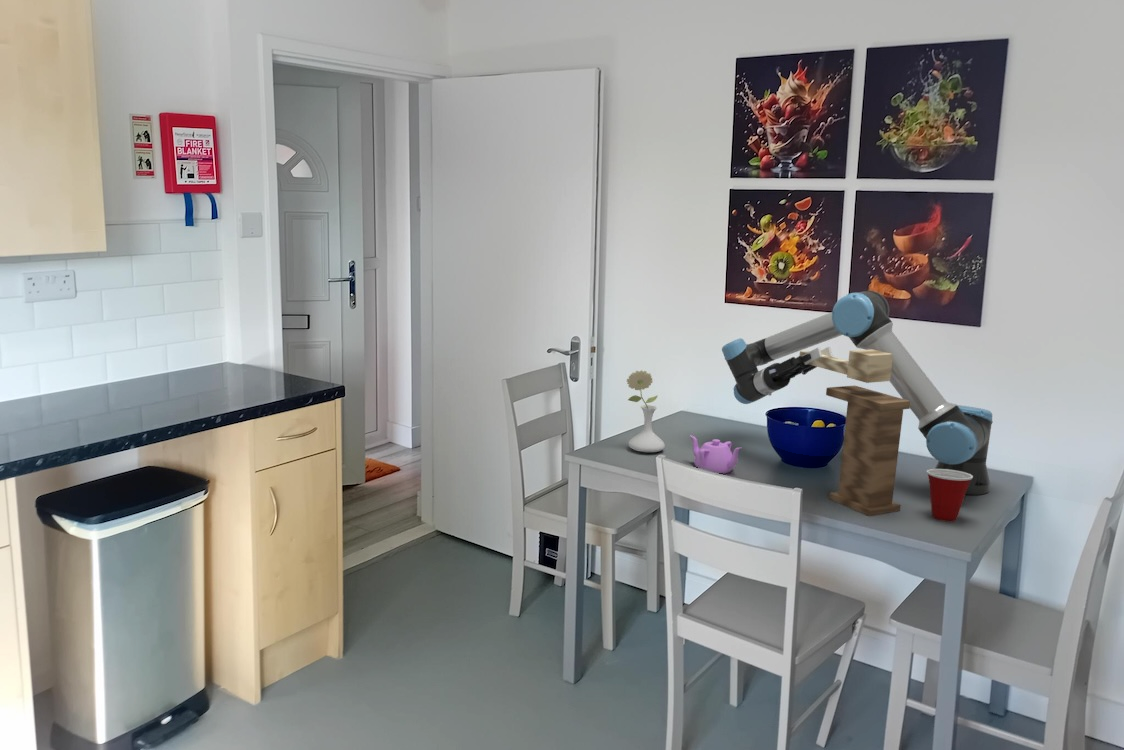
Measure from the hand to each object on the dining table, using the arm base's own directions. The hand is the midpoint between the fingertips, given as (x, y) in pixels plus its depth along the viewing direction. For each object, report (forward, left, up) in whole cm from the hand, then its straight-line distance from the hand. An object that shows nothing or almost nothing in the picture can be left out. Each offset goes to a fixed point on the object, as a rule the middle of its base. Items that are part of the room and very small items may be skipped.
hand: (825, 351), depth 240 cm
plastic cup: (-34, +12, -37) cm, 52 cm away
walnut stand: (-12, +10, -37) cm, 41 cm away
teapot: (+28, +2, -38) cm, 47 cm away
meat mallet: (-4, +4, -4) cm, 7 cm away
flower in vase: (+52, -6, -37) cm, 64 cm away
